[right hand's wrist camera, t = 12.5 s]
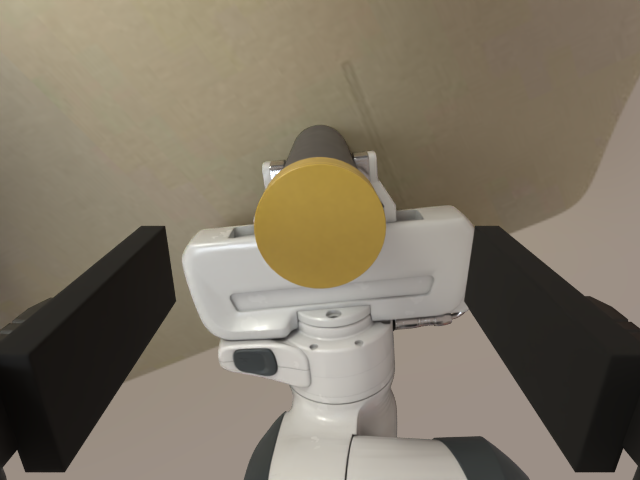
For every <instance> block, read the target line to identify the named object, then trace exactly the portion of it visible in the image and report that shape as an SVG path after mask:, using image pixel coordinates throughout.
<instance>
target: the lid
mask: <svg viewBox="0 0 640 480" xmlns="http://www.w3.org/2000/svg"><path fill="white" fill-rule="evenodd" d="M254 234H255V240H256V243H257V246H258V249H259V251H260V253H261V255H262V257H263V258H264V260H265V262H266V263H267V264H268V265H269V266H270V268H271V269H272V270H274V271H275V272H276V273H277V274H278V275H280V276H281V277H282V278H284V279H286V280H287V281H289V282H291V283H294V284H296V285H299V286H303V287H307V288H314V289H325V288H333V287H337V286H341V285H344V284H346V283H349V282H351V281H353V280H355V279H356V278H358V277H359V276H361V275H362V274H363V273H364V272H366V271H367V270H368V269H369V268H370V266H371V265H372V264H373V263H374V262H375V260H376V259H377V257H378V255H379V253H380V252H381V249H382V247H383V244H384V240H385V235H386V218H385V213H384V209H383V206H382V203H381V201H380V199H379V197H378V195H377V193H376V191H375V189H374V187H373V186H372V184H371V183H370V181H369V180H368V179H367V178H366V177H365V175H364V174H363V173H361V172H360V171H359V170H358V169H356V168H355V167H353V166H352V165H350V164H348V163H346V162H343V161H341V160H337V159H334V158H327V157H313V158H307V159H303V160H299V161H297V162H294V163H292V164H290V165H288V166H287V167H285V168H284V169H282V170H281V171H280V172H279V173H278V174H277V175H276V176H275V177H274V178H273V179H272V180H271V181H270V183H269V184H268V186H267V188H266V189H265V191H264V193H263V195H262V197H261V199H260V201H259V204H258V206H257V209H256V213H255V218H254Z"/></svg>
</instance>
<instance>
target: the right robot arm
mask: <svg viewBox="0 0 640 480" xmlns="http://www.w3.org/2000/svg"><path fill="white" fill-rule="evenodd" d="M175 302H176V297H175V290H174V284H173V277H172V270H171V263H170V256H169V249H168V242H167V236H166V229H165V226H141V227H139V228H138V229H137V230H136V231H135V232H133V233H132V234H131V235H130V236H128V237H127V238H126V239H125V240H124V241H122V242H121V243H120V244H119V245H117V246H116V247H115V248H114V249H113V250H111V251H110V252H109V253H108V254H106V255H105V256H104V257H103V258H101V259H100V260H99V261H98V262H97V263H95V264H94V265H93V266H92V267H90V268H89V269H88V270H87V271H86V272H84V273H83V274H82V275H81V276H79V277H78V278H77V279H76V280H75V281H73V282H72V283H71V284H70V285H68V286H67V287H66V288H65V289H64V290H62V291H61V292H60V293H59V294H57V295H56V296H55V297H54V298H49V299H47V300H45V301H43V302H41V303H39V304H36V305H34V306H32V307H30V308H28V309H27V310H26V311H25V312H23V313H22V314H21V315H19V316H18V317H17V318H16V319H14V320H13V322H12V323H9V324H8V325H7V326H5V327H4V328H3V329H2V330H0V480H7V479H6V475H5V472H4V470H3V466H4V465H5V464H6V463H7V462H8V460H9V459H10V458H11V457H12V455H13V454H14V453H15V452H16V450H18V453H19V456H20V459H21V461H22V464H23V467H24V469H25V472H65V471H66V469H67V468H68V466H69V465H70V463H71V462H72V460H73V459H74V457H75V456H76V454H77V453H78V451H79V449H80V448H81V446H82V445H83V443H84V442H85V440H86V439H87V437H88V436H89V434H90V433H91V431H92V429H93V428H94V426H95V425H96V423H97V422H98V420H99V419H100V417H101V416H102V414H103V413H104V411H105V410H106V408H107V407H108V405H109V403H110V402H111V400H112V399H113V397H114V396H115V394H116V393H117V391H118V390H119V388H120V386H121V385H122V383H123V382H124V380H125V379H126V377H127V376H128V374H129V373H130V371H131V370H132V368H133V367H134V365H135V364H136V362H137V360H138V359H139V357H140V356H141V354H142V353H143V351H144V350H145V348H146V347H147V345H148V344H149V342H150V340H151V339H152V337H153V336H154V334H155V333H156V331H157V330H158V328H159V327H160V325H161V324H162V322H163V321H164V319H165V317H166V316H167V314H168V313H169V311H170V310H171V308H172V307H173V305H174V304H175ZM464 302H465V304H466V305H467V307H468V308H469V310H470V311H471V313H472V314H473V316H474V317H475V319H476V321H477V322H478V324H479V325H480V327H481V328H482V330H483V331H484V333H485V334H486V336H487V337H488V339H489V340H490V342H491V343H492V345H493V347H494V348H495V350H496V351H497V353H498V354H499V356H500V357H501V359H502V360H503V362H504V364H505V365H506V366H507V368H508V370H509V371H510V373H511V374H512V376H513V377H514V379H515V380H516V382H517V383H518V385H519V387H520V388H521V390H522V391H523V393H524V394H525V396H526V397H527V399H528V400H529V402H530V403H531V405H532V407H533V408H534V410H535V411H536V413H537V414H538V416H539V417H540V419H541V420H542V422H543V423H544V425H545V427H546V428H547V430H548V431H549V433H550V434H551V436H552V437H553V439H554V440H555V442H556V443H557V445H558V446H559V448H560V450H561V451H562V453H563V454H564V456H565V457H566V459H567V460H568V462H569V463H570V465H571V466H572V468H573V469H574V471H575V472H615V470H616V467H617V464H618V461H619V459H620V456H621V453H622V450H623V448H624V449H625V451H626V452H627V453H628V454H629V455H630V457H631V458H632V459H633V460H634V462H635V463H636V464H637V465H638V467H637V470H636V472H635V475H634V478H633V480H640V328H638V327H637V326H636V325H635V324H633V323H632V322H628V319H627V318H626V317H624V316H623V315H622V314H620V313H619V312H618V311H617V310H615V309H614V308H613V307H611V306H609V305H607V304H605V303H603V302H601V301H599V300H597V299H595V298H592V297H590V296H584V295H583V294H581V293H580V292H579V291H578V290H576V289H575V288H574V287H573V286H572V285H570V284H569V283H568V282H567V281H565V280H564V279H563V278H562V277H561V276H559V275H558V274H557V273H556V272H554V271H553V270H552V269H551V268H550V267H548V266H547V265H546V264H545V263H543V262H542V261H541V260H540V259H538V258H537V257H536V256H535V255H534V254H532V253H531V252H530V251H529V250H527V249H526V248H525V247H524V246H523V245H521V244H520V243H519V242H518V241H516V240H515V239H514V238H513V237H511V236H510V235H509V234H508V233H507V232H505V231H504V230H503V229H502V228H501V227H499V226H475V229H474V235H473V242H472V249H471V256H470V263H469V270H468V277H467V284H466V290H465V297H464Z"/></svg>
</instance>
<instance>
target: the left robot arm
mask: <svg viewBox="0 0 640 480" xmlns="http://www.w3.org/2000/svg"><path fill="white" fill-rule="evenodd" d="M352 159H353V161H354V163H355V166H356V168H357V169H358V170H359V171H360V172H361V173H363V174H364V175H365V177H366V178H367V179H368V180H369V181H370V183H371V184H372V186H373V187H374V189H375V191H376V193H377V195H378V197H379V199H380V201H381V203H382V206H383V209H384V213H385V218H386V235H385V240H384V244H383V247H382V249H381V252H380V253H379V255H378V257H377V259H376V260H375V262H374V263H373V264H372V265H371V266H370V268H369V269H368V270H367V271H366V272H364V273H363V274H362V275H361V276H359V277H358V278H356V279H355V280H353V281H351V282H349V283H346V284H344V285H341V286H337V287H333V288H325V289H314V288H307V287H303V286H299V285H296V284H294V283H291V282H289V281H287V280H286V279H284V278H282V277H281V276H280V275H278V274H277V273H276V272H275V271H274V270H272V269H271V268H270V266H269V265H268V264H267V263H266V262H265V260H264V258H263V257H262V255H261V253H260V251H259V249H258V246H257V243H256V240H255V234H254V224H251V225H241V226H231V227H221V228H210V229H203V230H200V231H199V232H197V234H196V235H195V236H194V237H193V238H192V239H191V240H190V242H189V243H188V245H187V246H186V248H185V250H184V252H183V255H182V265H183V270H184V274H185V277H186V281H187V284H188V287H189V290H190V293H191V296H192V299H193V302H194V304H195V307H196V309H197V312H198V314H199V317H200V319H201V321H202V322H203V324H204V326H205V327H206V328H207V329H208V330H209V331H210V332H211V333H212V334H213V335H215V336H217V337H219V338H221V339H220V344H219V350H218V358H219V362H220V365H221V366H222V368H224V369H225V370H228V371H231V372H235V373H241V374H247V375H253V376H258V377H263V378H267V379H272V380H275V381H279V382H283V383H286V384H289V385H290V388H291V390H292V394H293V403H292V408H291V410H290V411H289V412H286V411H285V412H284V413H283V414H282V415H281V416H280V417H279V418H278V419H277V420H276V421H275V422H274V423H273V425H272V426H271V427H270V429H269V430H268V431H267V433H266V434H265V435H264V437H263V438H262V439H261V440H260V442H259V444H258V445H257V447H256V448H255V450H254V452H253V454H252V457H251V459H250V461H249V464H248V467H247V470H246V474H245V478H244V480H530V479H529V478H528V476H527V475H526V474H525V473H524V472H523V471H522V470H521V469H520V468H519V467H518V466H517V465H516V464H515V463H514V462H513V461H512V460H511V459H510V458H509V457H508V456H506V455H505V454H504V453H503V452H501V451H500V450H499V449H498V448H497V447H495V446H494V445H493V444H491V443H490V442H489V441H487V440H486V439H485V438H483V437H481V436H475V437H445V438H433V439H432V440H430V439H412V438H397V408H396V401H395V398H394V395H393V392H392V390H391V384H392V381H393V378H394V372H395V360H394V340H393V331H394V330H397V329H409V328H416V327H421V326H428V325H434V326H442V325H447V324H450V323H451V322H452V319H455V318H458V317H459V316H461V315H462V314H464V313H465V312H466V311H468V309H469V308H468V307H467V305H466V304H465V302H464V297H465V290H466V284H467V277H468V270H469V263H470V256H471V249H472V242H473V235H474V229H475V228H474V226H473V224H472V223H471V222H470V220H469V219H468V218H467V217H466V216H465V215H464V214H463V213H462V212H460V211H459V210H458V209H457V208H455V207H454V206H451V205H445V206H435V207H425V208H415V209H404V210H396V205H395V203H394V201H393V200H392V198H391V196H390V195H389V193H388V192H387V190H386V189H385V187H384V186H383V184H382V183H381V181H380V180H379V178H378V173H377V158H376V153H375V152H374V150H373V151H363V152H355V153H352ZM285 164H286V160H277V161H267V162H264V163H263V165H262V172H263V179H264V185H265V189H266V188H267V186H268V184H269V183H270V181H271V180H272V179H273V178H274V177H275V176H276V175H277V174H278V173H279V172H280V171H281V170H282V169H283V168H284V166H285ZM254 218H255V216H254ZM254 218H253V221H254ZM451 313H453V314H451Z"/></svg>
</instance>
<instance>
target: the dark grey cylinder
mask: <svg viewBox="0 0 640 480" xmlns="http://www.w3.org/2000/svg"><path fill="white" fill-rule="evenodd" d="M313 157H327V158H334V159H337V160H341V161H343V162H346V163H348V164H350V165H352V166H353V167H355V168H356V166H355V163H354V161H353V159H352V156H351V154H350V151H349V149H348V147H347V144H346V142H345V140H344V138H343V137H342V135H341V134H340V133H339V132H338V131H336V130H335V129H333V128H331V127H328V126H324V125H315V126H311V127H309V128H307V129H305V130H304V131H302V132H301V133H300V134H299V135H298V137H297V138H296V140H295V142H294V144H293V147H292V149H291V151H290V154H289V156H288V159H287V161H286V164H285V166H284V168H285V167H287V166H288V165H290V164H292V163H294V162H297V161H299V160H303V159H307V158H313ZM284 168H283V169H284ZM356 169H357V168H356Z"/></svg>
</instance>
